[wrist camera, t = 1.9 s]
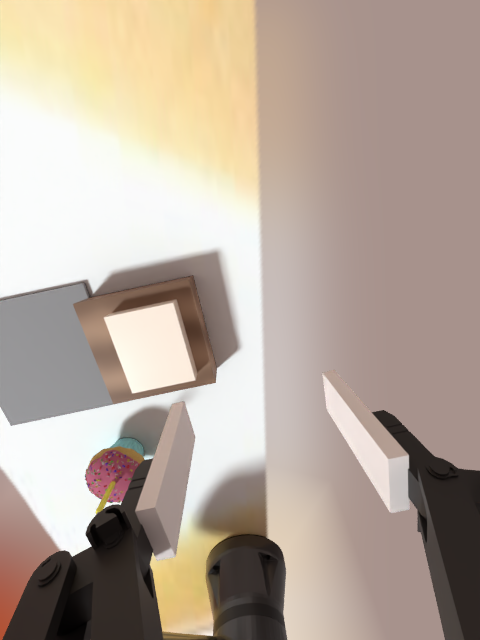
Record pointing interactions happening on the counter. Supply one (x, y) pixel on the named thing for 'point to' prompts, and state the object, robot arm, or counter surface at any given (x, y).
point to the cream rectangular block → (152, 346)
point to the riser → (103, 305)
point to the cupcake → (113, 470)
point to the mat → (47, 357)
